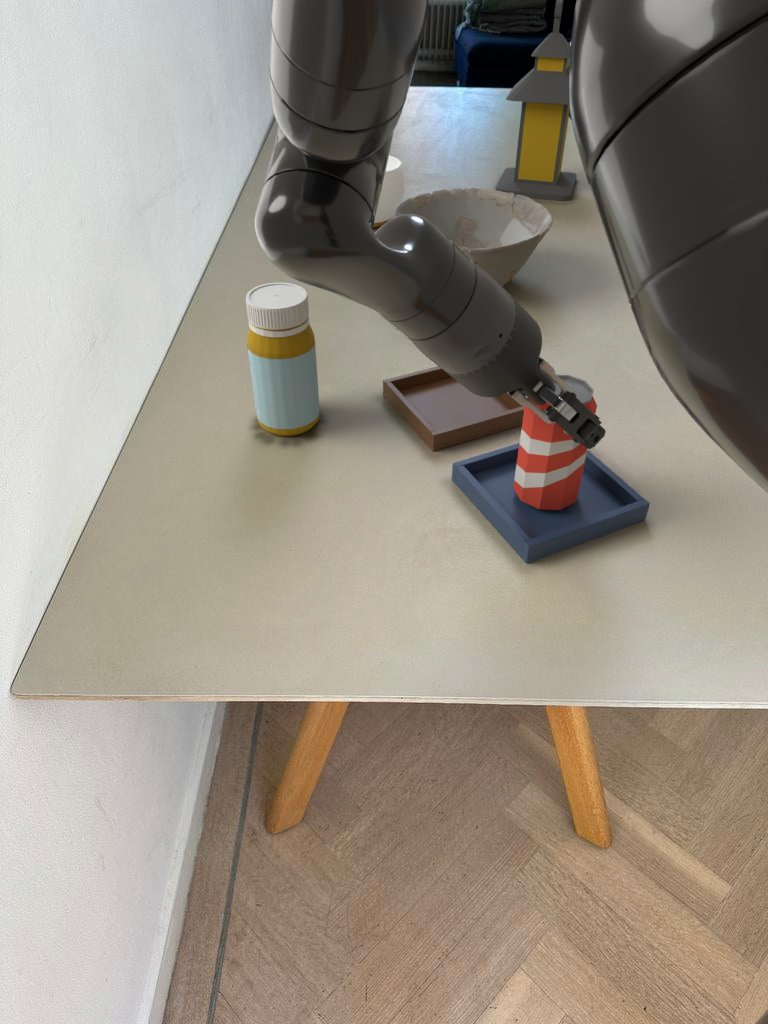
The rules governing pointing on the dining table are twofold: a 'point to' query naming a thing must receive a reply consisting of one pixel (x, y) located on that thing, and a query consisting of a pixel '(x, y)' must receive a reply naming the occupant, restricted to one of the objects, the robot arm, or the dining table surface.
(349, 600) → the dining table surface
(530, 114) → the lantern
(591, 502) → the tray
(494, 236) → the ceramic bowl
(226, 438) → the dining table surface
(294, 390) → the bottle
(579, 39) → the robot arm
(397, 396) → the tray
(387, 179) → the cup
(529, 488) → the beverage can
